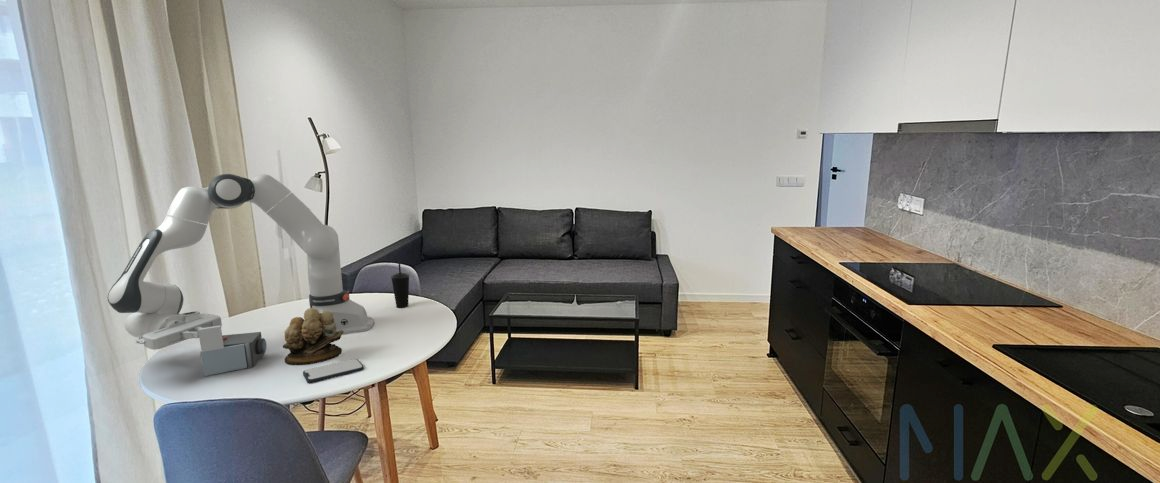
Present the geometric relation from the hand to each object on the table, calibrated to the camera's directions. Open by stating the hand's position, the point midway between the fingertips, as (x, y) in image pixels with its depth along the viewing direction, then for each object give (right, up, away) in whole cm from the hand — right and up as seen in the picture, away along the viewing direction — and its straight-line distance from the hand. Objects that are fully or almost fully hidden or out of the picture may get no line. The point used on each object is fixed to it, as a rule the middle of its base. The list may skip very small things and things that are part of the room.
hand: (202, 334), depth 155 cm
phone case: (+38, -13, +4) cm, 40 cm away
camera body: (+3, -11, +11) cm, 16 cm away
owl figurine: (+26, -10, +15) cm, 32 cm away
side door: (+5, -12, +4) cm, 14 cm away
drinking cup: (+38, 0, +66) cm, 76 cm away
